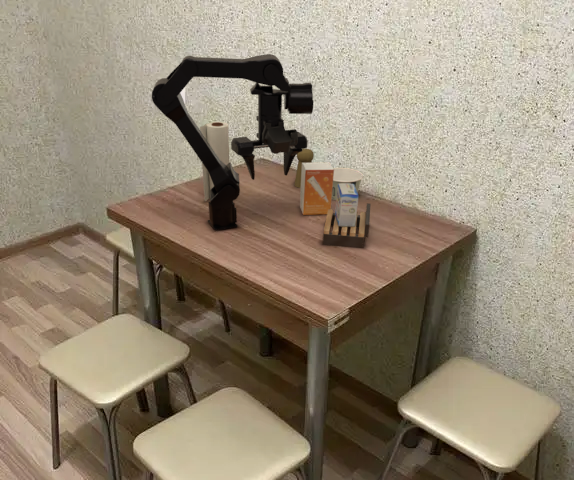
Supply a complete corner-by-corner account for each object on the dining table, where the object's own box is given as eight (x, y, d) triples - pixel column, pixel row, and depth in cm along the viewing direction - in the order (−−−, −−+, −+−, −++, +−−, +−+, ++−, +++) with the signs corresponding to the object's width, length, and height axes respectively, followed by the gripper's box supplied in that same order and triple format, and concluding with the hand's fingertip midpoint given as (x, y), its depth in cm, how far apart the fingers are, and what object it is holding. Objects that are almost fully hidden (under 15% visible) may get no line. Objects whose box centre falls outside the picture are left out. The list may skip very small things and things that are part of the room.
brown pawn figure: (316, 184, 183) (319, 149, 176) (307, 189, 178) (309, 153, 172) (300, 180, 185) (302, 145, 178) (290, 185, 181) (291, 150, 174)
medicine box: (334, 214, 153) (337, 182, 148) (351, 214, 153) (354, 182, 148) (338, 227, 147) (341, 194, 142) (355, 227, 147) (359, 194, 142)
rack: (322, 244, 147) (324, 220, 143) (326, 222, 159) (328, 200, 155) (366, 248, 146) (369, 224, 142) (367, 226, 157) (370, 203, 154)
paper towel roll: (232, 196, 172) (230, 121, 160) (228, 203, 168) (226, 127, 155) (208, 194, 173) (204, 120, 160) (204, 202, 168) (199, 125, 155)
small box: (302, 215, 162) (304, 169, 154) (299, 206, 167) (301, 161, 159) (331, 214, 163) (334, 169, 155) (326, 206, 168) (330, 161, 160)
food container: (369, 196, 175) (371, 175, 171) (341, 206, 169) (343, 184, 165) (341, 185, 182) (343, 164, 178) (313, 193, 176) (314, 172, 172)
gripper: (245, 125, 131) (247, 192, 140) (319, 118, 137) (315, 183, 146) (229, 113, 139) (231, 177, 148) (299, 107, 145) (297, 169, 154)
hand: (269, 177), depth 149 cm, fingers open, 9 cm apart
